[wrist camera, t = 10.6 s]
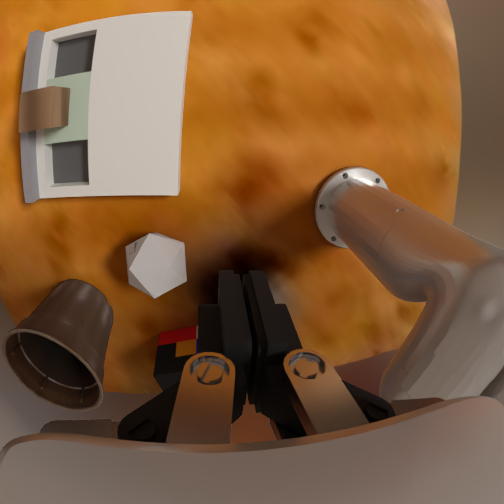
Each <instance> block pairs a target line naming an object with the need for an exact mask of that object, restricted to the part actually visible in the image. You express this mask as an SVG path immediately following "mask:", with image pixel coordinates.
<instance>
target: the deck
mask: <svg viewBox="0 0 504 504" xmlns="http://www.w3.org/2000/svg"><path fill="white" fill-rule="evenodd" d="M192 20H193V15H192V11H171V12H153V13H142V14H132V15H124V16H117V17H111V18H105V19H99V20H94V21H89V22H84V23H80V24H75V25H71V26H67V27H63V28H59V29H56V30H52V31H49V32H46V33H45V32H42V31H39V30H37V31H34V32H31V33H29V38H28V44H27V50H26V56H25V63H24V72H23V81H22V92H26V91H31V90H35V89H40V88H44V87H49V86H57V87H66V88H70V101H69V118H68V125H67V126H60V127H53V128H47V129H40V130H33V131H27V132H21V133H20V147H21V167H22V179H23V189H24V198H25V203H33V202H35V201H37V200H38V199H40V198H57V197H79V196H116V195H178V194H179V191H180V161H181V138H182V120H183V105H184V92H185V81H186V70H187V60H188V51H189V43H190V35H191V27H192Z"/></svg>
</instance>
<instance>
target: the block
mask: <svg viewBox="0 0 504 504" xmlns="http://www.w3.org/2000/svg"><path fill="white" fill-rule="evenodd" d="M69 101H70V88H66V87H57V86H49V87H44V88H40V89H35V90H31V91H26V92H22V93H20V104H19V131H18V133H21V132H27V131H33V130H40V129H47V128H53V127H60V126H67V125H68V118H69Z"/></svg>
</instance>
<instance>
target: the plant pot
mask: <svg viewBox="0 0 504 504" xmlns="http://www.w3.org/2000/svg"><path fill="white" fill-rule="evenodd" d="M112 324H113V311H112V308H111V306H109V304H108V302H107V300H106V297H105V296H104V295H103V294H102V293H101V292H100V291H99V290H98V289H97V288H95V287H94V286H92V285H90V284H88V283H86V282H84V281H80V280H76V279H69V280H67V281H65V282H62V283H59V284H58V285H57V286H56V287H55V288H54V290H53V291H52V292H51V293H50V294H49V295H48V296H47V297H46V298H45V299H44V300H43V301H42V302H41V304H40V305H39V306H38V307H37V308H36V309H35V310H34V311H33V312H32V313H31V315H30V316H29V317H28V318H25V319H24V320H23V321H22V322H21V323H20V324H19V325H18V326H17V327H16V328H15V329H12V330H11V331H9V332H8V333H7V334H6V336H5V337H4V339H3V343H2V350H3V355H4V358H5V361H6V363H7V365H8V367H9V368H10V370H11V371H12V373H13V374H14V375H15V376H16V378H17V379H18V380H19V381H20V382H21V383H22V384H23V385H24V386H25V387H26V388H27V389H28V390H29V391H30V392H32V393H33V394H34V395H36V396H37V397H39V398H40V399H42V400H44V401H46V402H48V403H50V404H52V405H55V406H57V407H60V408H63V409H67V410H72V411H89V410H92V409H94V408H96V407H97V406H99V405H100V403H101V401H102V398H103V393H104V392H103V385H102V383H103V376H104V368H103V365H104V360H105V354H106V349H107V345H108V340H109V336H110V332H111V328H112Z"/></svg>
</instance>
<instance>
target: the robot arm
mask: <svg viewBox="0 0 504 504" xmlns="http://www.w3.org/2000/svg"><path fill="white" fill-rule="evenodd" d="M343 174H344V176H342V175H343ZM321 204H322V205H321ZM320 205H321V206H320ZM319 206H320V207H319ZM314 215H315V221H316V224H317V227H318V229H319V231H320V232H321V234H322V235H323V236H324V237H325V238H326V240H328V241H329V242H330V243H331V244H334V245H336V246H338V247H342V248H350V250H351V251H352V252H353V253H354V254H355V255H356V256H357V257H358V258H359V259H360V260H361V261H362V262H363V263H364V265H365V266H366V267H367V268H368V269H369V270H370V271H371V272H372V273H373V274H374V275H375V277H376V278H377V279H378V280H379V281H380V282H381V283H382V284H383V285H384V286H385V287H386V289H387V290H388V291H389V292H390V293H391V294H393V295H394V296H396V297H397V298H399V299H402V300H404V301H408V302H426V304H425V307H424V309H423V310H422V312H421V314H420V316H419V318H418V320H417V322H416V324H415V325H414V327H413V329H412V330H411V332H410V333H409V335H408V336H407V338H406V339H405V341H404V343H403V344H402V345H401V347H400V348H399V350H398V351H397V353H396V354H395V356H394V357H393V359H392V360H391V362H390V363H389V365H388V366H387V368H386V370H385V372H384V374H383V377H382V379H381V383H380V396H381V398H380V397H378V396H376V395H373V394H371V393H369V392H367V391H364V390H362V389H360V388H358V387H356V386H354V385H352V384H350V383H347V382H345V381H343V380H341V379H340V377H339V376H338V374H337V373H336V371H335V370H334V368H333V367H332V365H331V364H330V362H329V361H328V359H327V358H326V357H325V356H324V355H322V354H321V353H319V352H317V351H314V350H311V349H303V348H302V345H301V343H300V340H299V337H298V335H297V332H296V330H295V327H294V324H293V322H292V319H291V316H290V314H289V311H288V309H287V306H286V305H285V304H275V302H274V299H273V296H272V293H271V290H270V287H269V284H268V281H267V278H266V276H265V273H264V271H249V272H248V274H243V281H242V286H241V280H240V275H239V274H234V270H219V280H218V304H199V308H198V354H196V355H194V356H192V357H191V358H190V359H189V360H188V361H187V362H186V364H185V366H184V369H183V373H182V377H181V380H179V381H178V382H176V383H175V384H173V385H172V386H171V387H169V388H168V389H166V390H165V391H163V392H162V393H160V394H159V395H157V396H156V397H154V398H153V399H151V400H150V401H148V402H147V403H145V404H144V405H142V406H141V407H139V408H137V409H136V410H134V411H133V412H131V413H130V414H128V415H127V416H126V417H124V418H123V419H122V420H121V421H112V419H111V418H109V419H90V420H54V421H50V422H48V423H46V424H45V425H44V426H43V427H42V428H41V430H40V433H36V434H30V435H25V436H21V437H18V438H15V439H13V440H11V441H10V442H8V443H7V444H6V445H5V446H4V447H3V448H2V450H1V451H0V504H504V249H502V248H500V247H497V246H495V245H493V244H490V243H488V242H485V241H483V240H481V239H478V238H476V237H474V236H472V235H470V234H467V233H465V232H463V231H461V230H459V229H458V228H456V227H454V226H452V225H450V224H449V223H447V222H445V221H443V220H441V219H440V218H438V217H436V216H435V215H433V214H431V213H429V212H428V211H426V210H424V209H422V208H421V207H419V206H417V205H415V204H413V203H412V202H410V201H408V200H406V199H404V198H402V197H400V196H399V195H397V194H395V193H393V192H391V191H389V189H388V187H387V185H386V183H385V182H384V180H383V179H382V178H381V177H380V176H379V175H378V174H377V173H375V172H374V171H372V170H370V169H367V168H364V167H358V166H355V167H347V168H344V169H341V170H339V171H337V172H336V173H334V174H333V175H332V176H330V177H329V178H328V179H327V180H326V182H325V183H324V184H323V186H322V187H321V189H320V190H319V193H318V195H317V198H316V202H315V212H314ZM246 394H248V400H249V404H255V409H256V412H257V413H258V412H261V413H262V414H263V415H265V416H267V417H268V418H270V419H269V421H270V426H271V428H272V431H273V433H274V436H275V438H276V440H275V441H265V442H252V443H237V444H230V437H231V424H232V423H233V422H235V420H237V419H238V418H239V417H240V416H241V415H242V411H243V405H245V401H246Z"/></svg>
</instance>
